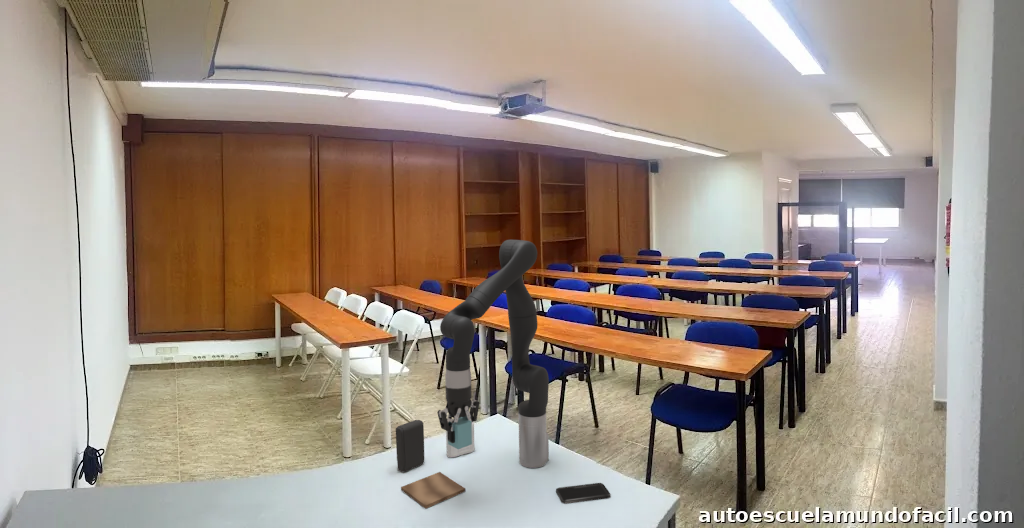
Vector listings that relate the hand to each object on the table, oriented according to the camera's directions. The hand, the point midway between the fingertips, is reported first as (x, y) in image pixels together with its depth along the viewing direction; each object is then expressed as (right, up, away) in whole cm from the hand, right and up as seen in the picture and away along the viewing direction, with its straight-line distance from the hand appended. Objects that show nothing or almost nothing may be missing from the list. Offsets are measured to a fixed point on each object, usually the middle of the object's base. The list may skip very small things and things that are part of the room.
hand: (459, 439), depth 159 cm
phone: (+37, -17, +2) cm, 41 cm away
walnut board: (-9, -17, +5) cm, 20 cm away
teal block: (0, -1, 0) cm, 1 cm away
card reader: (-18, -16, +21) cm, 32 cm away
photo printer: (-2, -15, +30) cm, 34 cm away
